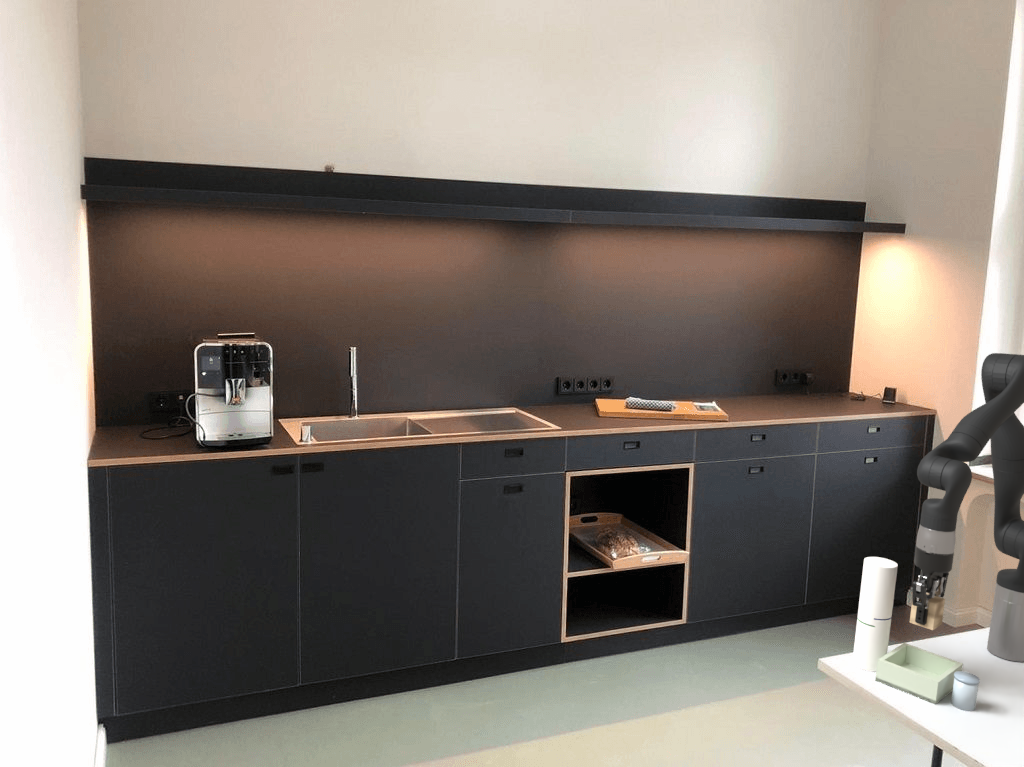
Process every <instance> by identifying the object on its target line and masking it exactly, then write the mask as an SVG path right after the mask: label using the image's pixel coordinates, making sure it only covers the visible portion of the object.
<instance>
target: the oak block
mask: <svg viewBox="0 0 1024 767" xmlns="http://www.w3.org/2000/svg"><path fill="white" fill-rule="evenodd" d="M926 594H927V592H926ZM927 595H929V594H927ZM920 602H922V600H920ZM945 604H946V598H944V597H943V598H942V597H936V596H934V598H933V599H932V600H930V604H929V608H928V616H927V623H926V624H925V625H922V624H919V623H916V622H915V618H916V610H917V606H914V605H912V604H911V608H910V616H909V623H910V624H913V625H915V626H919V627H921V628H925V629H928V630H931V631H934V630H936V629H938V628H939V627H940V626H942V625H943V619H944V618H943V617H944V611H945Z"/></svg>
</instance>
